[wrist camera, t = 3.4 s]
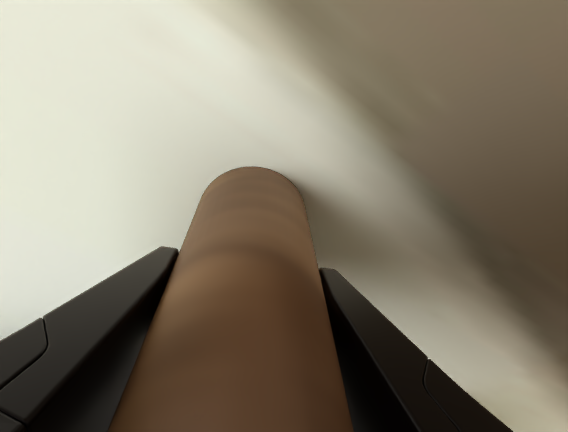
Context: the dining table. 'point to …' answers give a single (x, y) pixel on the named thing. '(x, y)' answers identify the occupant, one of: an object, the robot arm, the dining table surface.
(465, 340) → the dining table surface
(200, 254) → the peg
